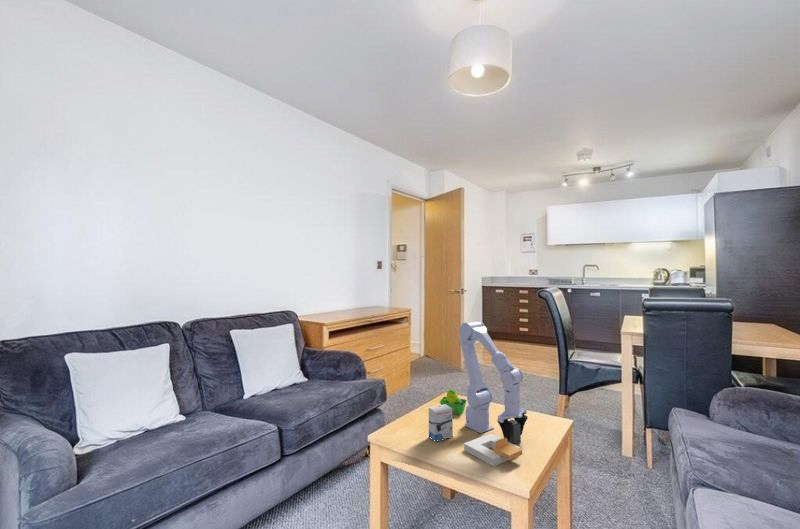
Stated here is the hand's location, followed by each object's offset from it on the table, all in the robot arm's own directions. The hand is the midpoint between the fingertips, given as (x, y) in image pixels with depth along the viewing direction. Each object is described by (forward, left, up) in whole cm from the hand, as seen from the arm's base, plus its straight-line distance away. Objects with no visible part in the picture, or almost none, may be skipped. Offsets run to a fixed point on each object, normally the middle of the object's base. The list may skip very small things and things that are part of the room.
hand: (513, 436), depth 143 cm
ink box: (-19, -20, -2) cm, 28 cm away
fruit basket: (-36, +2, -2) cm, 36 cm away
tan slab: (+8, -13, +1) cm, 15 cm away
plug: (0, 0, -2) cm, 2 cm away
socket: (+1, -13, -2) cm, 13 cm away
